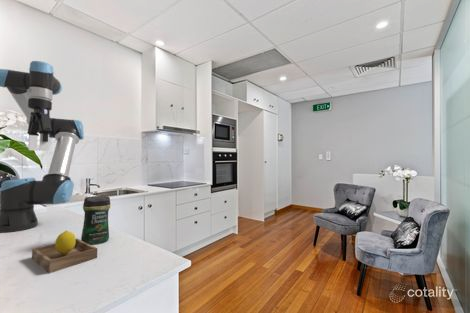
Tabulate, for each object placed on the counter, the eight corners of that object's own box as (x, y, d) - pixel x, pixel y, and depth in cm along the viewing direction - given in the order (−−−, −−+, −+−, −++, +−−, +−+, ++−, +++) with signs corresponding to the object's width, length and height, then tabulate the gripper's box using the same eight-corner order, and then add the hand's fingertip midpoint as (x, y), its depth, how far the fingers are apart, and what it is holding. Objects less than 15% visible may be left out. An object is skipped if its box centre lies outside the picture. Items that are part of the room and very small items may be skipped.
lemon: (58, 259, 71) (59, 234, 72) (51, 255, 74) (52, 231, 75) (78, 254, 76) (79, 230, 76) (71, 250, 79) (72, 227, 79)
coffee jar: (82, 247, 85) (84, 198, 85) (79, 241, 91) (81, 195, 91) (111, 242, 91) (112, 196, 92) (106, 236, 97) (108, 193, 97)
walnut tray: (31, 258, 74) (32, 249, 74) (76, 246, 85) (76, 238, 85) (49, 273, 65) (50, 262, 66) (97, 257, 76) (97, 248, 76)
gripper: (19, 101, 98) (17, 149, 97) (39, 92, 84) (36, 149, 83) (41, 105, 104) (39, 150, 103) (63, 97, 90) (60, 150, 89)
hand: (38, 150), depth 93 cm, fingers open, 13 cm apart
